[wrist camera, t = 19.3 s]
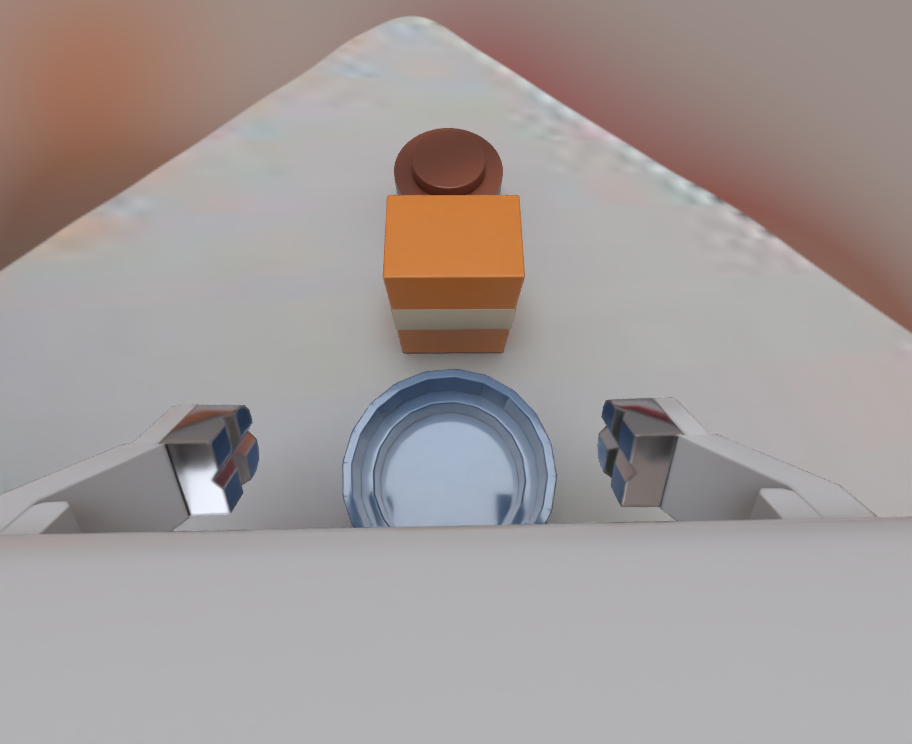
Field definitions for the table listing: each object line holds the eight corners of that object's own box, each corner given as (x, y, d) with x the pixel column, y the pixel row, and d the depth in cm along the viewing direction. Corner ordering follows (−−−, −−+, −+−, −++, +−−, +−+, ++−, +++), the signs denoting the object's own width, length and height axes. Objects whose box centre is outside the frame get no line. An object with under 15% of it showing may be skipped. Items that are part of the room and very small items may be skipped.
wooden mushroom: (516, 217, 28) (528, 162, 24) (443, 272, 27) (442, 224, 23) (453, 160, 30) (453, 99, 26) (381, 209, 28) (369, 153, 24)
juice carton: (500, 289, 27) (519, 193, 19) (503, 353, 25) (525, 277, 18) (404, 289, 27) (386, 194, 19) (402, 353, 25) (382, 277, 18)
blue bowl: (572, 489, 23) (600, 479, 19) (440, 618, 21) (438, 640, 17) (457, 366, 25) (458, 332, 21) (327, 473, 23) (299, 459, 19)
